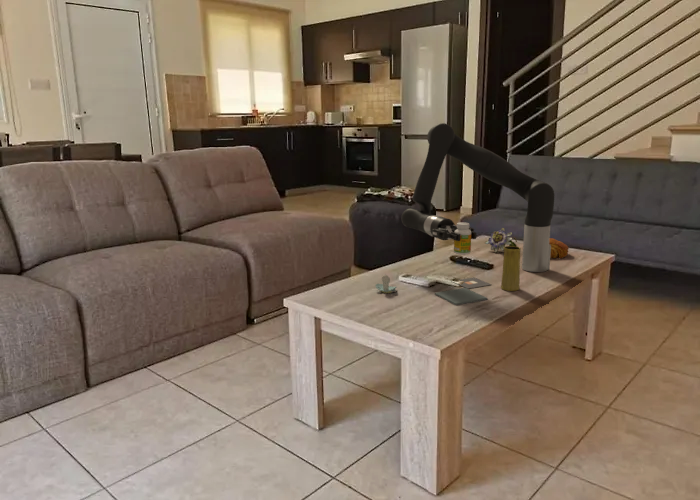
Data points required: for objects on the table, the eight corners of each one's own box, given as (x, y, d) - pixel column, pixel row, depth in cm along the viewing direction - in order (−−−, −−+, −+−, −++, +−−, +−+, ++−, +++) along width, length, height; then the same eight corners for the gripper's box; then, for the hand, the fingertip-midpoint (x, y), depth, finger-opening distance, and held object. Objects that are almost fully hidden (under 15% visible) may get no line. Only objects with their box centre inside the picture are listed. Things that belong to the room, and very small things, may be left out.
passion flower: (495, 264, 235) (479, 241, 235) (503, 254, 243) (488, 232, 243) (517, 253, 228) (500, 229, 228) (524, 243, 236) (508, 221, 236)
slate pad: (465, 289, 184) (465, 287, 184) (487, 299, 173) (487, 297, 173) (434, 294, 180) (434, 292, 179) (455, 305, 169) (455, 303, 169)
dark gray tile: (474, 277, 197) (474, 277, 197) (491, 285, 188) (491, 284, 188) (450, 281, 193) (450, 280, 193) (467, 289, 185) (467, 288, 184)
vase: (520, 291, 181) (522, 250, 177) (501, 290, 182) (503, 249, 179) (518, 286, 187) (520, 245, 183) (500, 285, 188) (502, 245, 184)
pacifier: (382, 288, 188) (373, 292, 183) (382, 270, 187) (373, 274, 182) (401, 291, 185) (392, 295, 180) (401, 273, 183) (393, 277, 178)
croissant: (528, 262, 226) (528, 244, 223) (536, 249, 238) (536, 231, 236) (565, 265, 219) (565, 246, 216) (571, 251, 231) (572, 233, 229)
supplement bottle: (460, 255, 173) (461, 225, 171) (450, 252, 178) (451, 222, 175) (474, 253, 175) (475, 224, 173) (463, 250, 180) (464, 221, 178)
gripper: (421, 218, 184) (448, 227, 169) (457, 214, 190) (486, 223, 174) (420, 240, 186) (447, 250, 171) (456, 235, 191) (485, 246, 176)
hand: (467, 236), depth 173 cm, fingers closed on supplement bottle, 5 cm apart
